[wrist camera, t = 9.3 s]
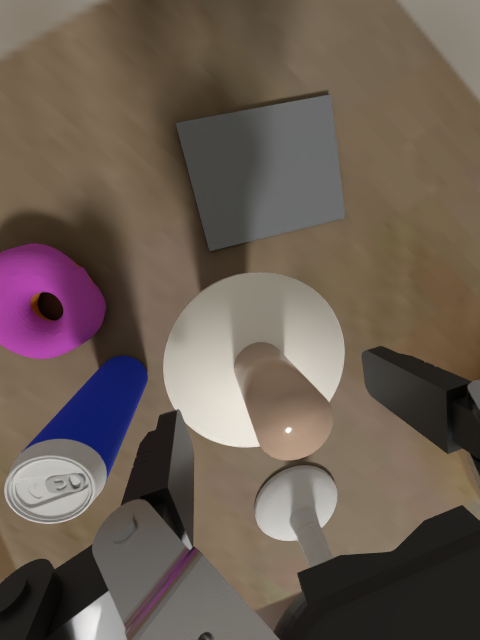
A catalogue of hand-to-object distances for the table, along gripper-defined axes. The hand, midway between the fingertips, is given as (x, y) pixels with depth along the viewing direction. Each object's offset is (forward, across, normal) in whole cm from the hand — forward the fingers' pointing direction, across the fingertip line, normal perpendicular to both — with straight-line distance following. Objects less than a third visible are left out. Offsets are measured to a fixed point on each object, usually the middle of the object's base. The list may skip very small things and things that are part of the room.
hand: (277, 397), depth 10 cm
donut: (+20, +17, -6) cm, 26 cm away
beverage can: (+19, +13, +4) cm, 24 cm away
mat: (+19, -8, -13) cm, 24 cm away
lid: (+4, 0, 0) cm, 4 cm away
